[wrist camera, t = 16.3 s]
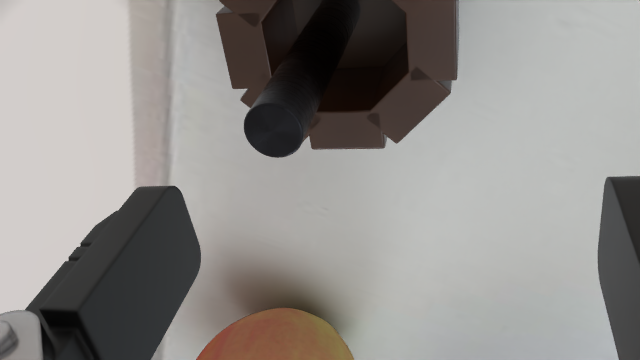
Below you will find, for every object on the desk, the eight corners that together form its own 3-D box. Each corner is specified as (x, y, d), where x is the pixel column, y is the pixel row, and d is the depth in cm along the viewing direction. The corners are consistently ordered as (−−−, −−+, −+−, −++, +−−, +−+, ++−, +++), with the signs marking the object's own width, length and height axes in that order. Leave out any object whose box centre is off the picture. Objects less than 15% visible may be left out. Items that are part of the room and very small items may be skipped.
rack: (259, -126, 23) (118, -59, 14) (470, -86, 22) (469, 12, 13) (245, 69, 27) (133, 216, 18) (420, 107, 27) (393, 280, 18)
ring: (336, -155, 21) (311, -142, 17) (504, -1, 22) (510, 37, 19) (218, 18, 25) (181, 55, 22) (366, 136, 27) (352, 186, 23)
